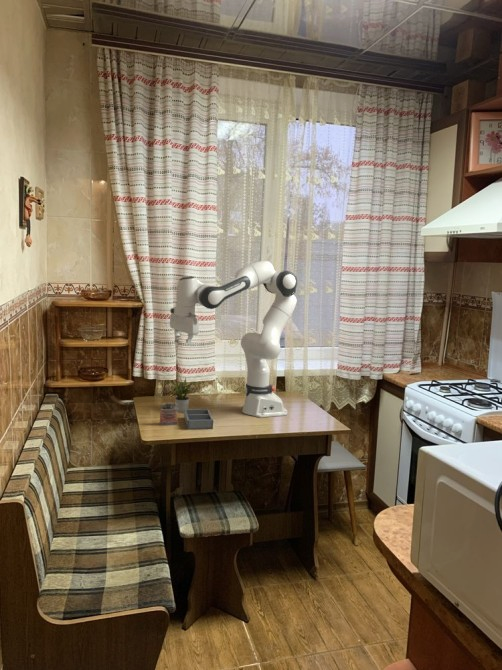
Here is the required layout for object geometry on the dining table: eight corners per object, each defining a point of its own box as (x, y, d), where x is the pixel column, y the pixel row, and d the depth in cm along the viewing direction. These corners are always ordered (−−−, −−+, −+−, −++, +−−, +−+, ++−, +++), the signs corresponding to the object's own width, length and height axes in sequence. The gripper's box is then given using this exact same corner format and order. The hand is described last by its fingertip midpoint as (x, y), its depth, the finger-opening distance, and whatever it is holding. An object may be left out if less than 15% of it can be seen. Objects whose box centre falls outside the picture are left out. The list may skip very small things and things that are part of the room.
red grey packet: (159, 425, 234) (160, 404, 232) (159, 423, 237) (159, 402, 235) (177, 425, 236) (178, 403, 234) (176, 422, 239) (177, 401, 238)
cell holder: (207, 417, 248) (208, 408, 248) (212, 428, 233) (213, 419, 233) (184, 418, 246) (184, 409, 245) (187, 429, 231) (187, 420, 230)
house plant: (200, 415, 251) (201, 382, 249) (171, 416, 247) (172, 383, 244) (194, 406, 265) (195, 374, 262) (167, 407, 260) (167, 375, 258)
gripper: (203, 314, 235) (201, 345, 237) (179, 308, 250) (177, 337, 252) (191, 315, 231) (189, 345, 233) (168, 308, 246) (166, 337, 249)
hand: (183, 341), depth 243 cm, fingers open, 8 cm apart
